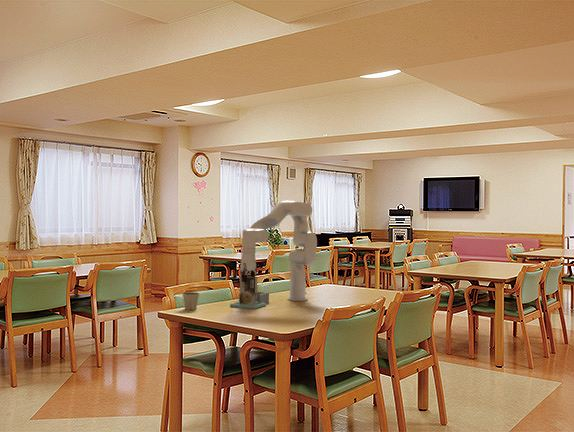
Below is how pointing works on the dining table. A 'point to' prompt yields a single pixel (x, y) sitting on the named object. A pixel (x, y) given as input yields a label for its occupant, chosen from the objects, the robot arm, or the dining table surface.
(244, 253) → the robot arm
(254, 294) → the coffee box
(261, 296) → the bay
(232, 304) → the tray
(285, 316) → the dining table surface
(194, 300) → the flower pot
